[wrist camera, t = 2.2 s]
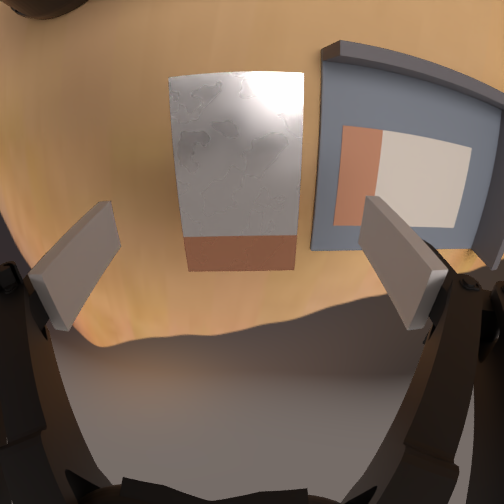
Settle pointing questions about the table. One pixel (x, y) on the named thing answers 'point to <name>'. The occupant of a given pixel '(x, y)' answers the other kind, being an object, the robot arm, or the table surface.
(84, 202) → the table surface
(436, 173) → the corner tray
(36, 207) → the table surface
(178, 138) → the aluminium block
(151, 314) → the table surface
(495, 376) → the robot arm
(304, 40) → the table surface
